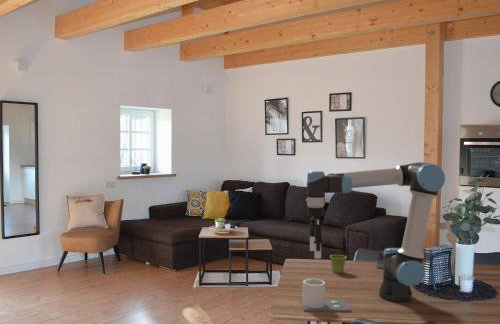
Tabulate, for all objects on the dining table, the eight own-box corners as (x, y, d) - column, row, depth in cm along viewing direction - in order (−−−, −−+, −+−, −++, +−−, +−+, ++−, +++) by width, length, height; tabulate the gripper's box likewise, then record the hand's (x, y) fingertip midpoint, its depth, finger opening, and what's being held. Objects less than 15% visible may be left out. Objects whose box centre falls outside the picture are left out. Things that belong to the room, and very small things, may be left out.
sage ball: (320, 281, 209) (309, 273, 209) (322, 285, 203) (311, 277, 203) (312, 292, 209) (301, 284, 209) (314, 296, 203) (302, 288, 203)
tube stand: (344, 301, 213) (344, 278, 213) (350, 311, 200) (351, 286, 200) (300, 300, 213) (300, 277, 212) (304, 311, 200) (304, 286, 199)
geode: (388, 271, 265) (386, 254, 266) (372, 270, 274) (370, 253, 275) (409, 265, 278) (407, 248, 278) (392, 263, 287) (390, 247, 287)
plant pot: (348, 271, 264) (349, 256, 264) (342, 275, 256) (343, 259, 256) (333, 268, 269) (333, 253, 269) (326, 272, 261) (327, 257, 261)
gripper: (303, 202, 217) (303, 248, 218) (311, 210, 192) (310, 261, 193) (319, 202, 217) (319, 248, 218) (329, 210, 192) (328, 261, 193)
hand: (315, 254), depth 206 cm, fingers open, 13 cm apart
